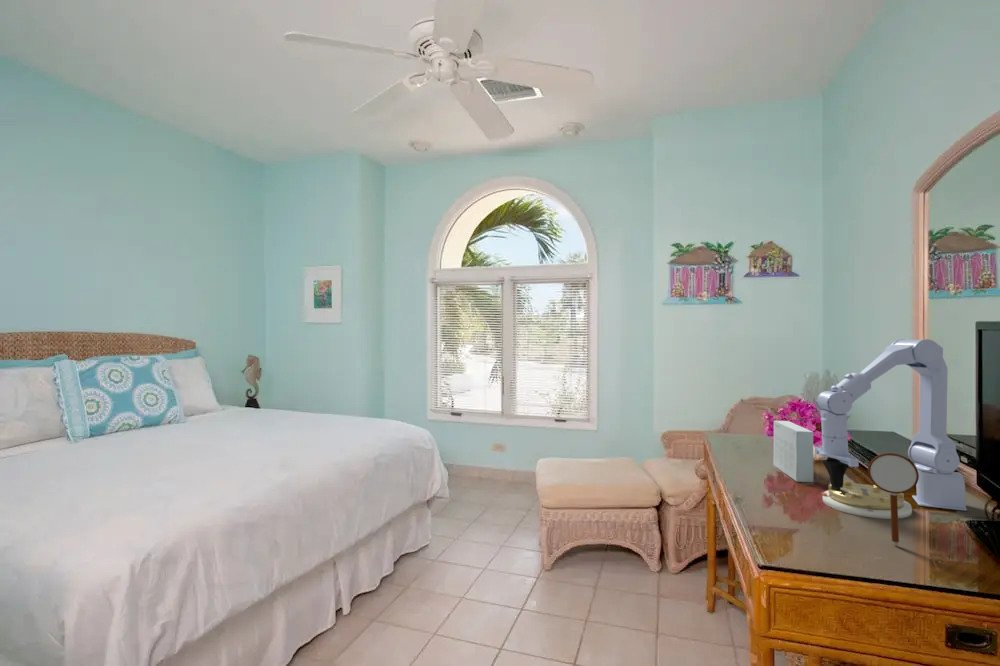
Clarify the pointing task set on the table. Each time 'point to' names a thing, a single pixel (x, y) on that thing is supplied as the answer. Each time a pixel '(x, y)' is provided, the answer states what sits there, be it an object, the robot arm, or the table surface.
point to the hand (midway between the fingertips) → (836, 486)
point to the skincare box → (793, 450)
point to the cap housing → (882, 514)
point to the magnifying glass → (893, 481)
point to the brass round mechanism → (864, 496)
